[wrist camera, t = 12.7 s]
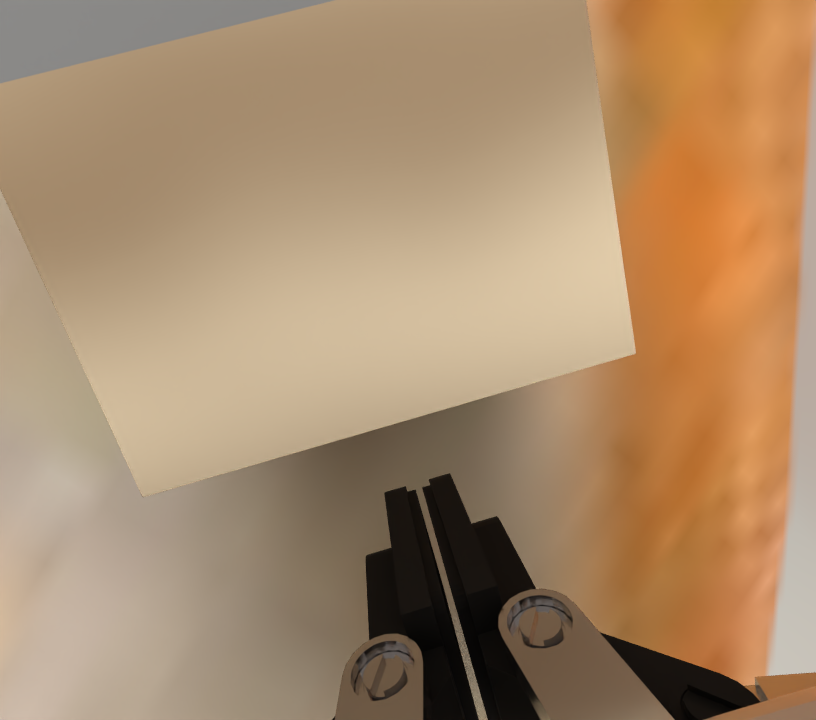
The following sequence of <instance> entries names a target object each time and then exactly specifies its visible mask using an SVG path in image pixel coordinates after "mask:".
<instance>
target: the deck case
mask: <svg viewBox="0 0 816 720" xmlns="http://www.w3.org/2000/svg"><path fill="white" fill-rule="evenodd" d="M0 189H1V192H2V194H3V196H4V198H5V200H6V202H7V205H8V207H9V209H10V211H11V213H12V215H13V218H14V220H15V222H16V224H17V226H18V228H19V231H20V233H21V235H22V237H23V239H24V241H25V244H26V246H27V248H28V250H29V252H30V254H31V257H32V259H33V261H34V263H35V265H36V267H37V270H38V272H39V274H40V276H41V278H42V280H43V283H44V285H45V287H46V289H47V291H48V293H49V296H50V298H51V300H52V302H53V304H54V306H55V309H56V311H57V313H58V315H59V317H60V319H61V322H62V324H63V326H64V328H65V330H66V332H67V335H68V337H69V339H70V341H71V343H72V345H73V348H74V350H75V352H76V354H77V356H78V358H79V361H80V363H81V365H82V367H83V369H84V371H85V374H86V376H87V378H88V380H89V382H90V384H91V387H92V389H93V391H94V393H95V395H96V397H97V400H98V402H99V404H100V406H101V408H102V410H103V413H104V415H105V417H106V419H107V421H108V423H109V426H110V428H111V430H112V432H113V434H114V436H115V439H116V441H117V443H118V445H119V447H120V449H121V452H122V454H123V456H124V458H125V460H126V462H127V465H128V467H129V469H130V471H131V473H132V475H133V478H134V480H135V482H136V484H137V486H138V488H139V491H140V493H141V495H142V497H146V496H149V495H153V494H156V493H160V492H163V491H167V490H170V489H173V488H177V487H180V486H184V485H187V484H191V483H194V482H197V481H201V480H204V479H208V478H211V477H215V476H218V475H221V474H225V473H228V472H232V471H235V470H239V469H242V468H245V467H249V466H252V465H256V464H259V463H263V462H266V461H269V460H273V459H276V458H280V457H283V456H287V455H290V454H293V453H297V452H300V451H304V450H307V449H311V448H314V447H317V446H321V445H324V444H328V443H331V442H335V441H338V440H341V439H345V438H348V437H352V436H355V435H359V434H362V433H365V432H369V431H372V430H376V429H379V428H382V427H386V426H389V425H393V424H396V423H400V422H403V421H406V420H410V419H413V418H417V417H420V416H424V415H427V414H430V413H434V412H437V411H441V410H444V409H448V408H451V407H454V406H458V405H461V404H465V403H468V402H472V401H475V400H478V399H482V398H485V397H489V396H492V395H496V394H499V393H502V392H506V391H509V390H513V389H516V388H520V387H523V386H526V385H530V384H533V383H537V382H540V381H544V380H547V379H550V378H554V377H557V376H561V375H564V374H568V373H571V372H574V371H578V370H581V369H585V368H588V367H592V366H595V365H598V364H602V363H605V362H609V361H612V360H616V359H619V358H622V357H626V356H629V355H633V354H636V351H635V344H634V337H633V330H632V323H631V315H630V308H629V301H628V294H627V287H626V280H625V273H624V266H623V259H622V252H621V245H620V238H619V230H618V223H617V216H616V209H615V202H614V195H613V188H612V181H611V174H610V167H609V160H608V152H607V145H606V138H605V131H604V124H603V117H602V110H601V103H600V96H599V89H598V82H597V74H596V67H595V60H594V53H593V46H592V39H591V32H590V25H589V18H588V11H587V4H586V0H334V1H330V2H326V3H322V4H318V5H314V6H310V7H306V8H302V9H298V10H294V11H290V12H286V13H282V14H278V15H274V16H270V17H266V18H262V19H258V20H254V21H250V22H246V23H242V24H238V25H234V26H229V27H225V28H221V29H217V30H213V31H209V32H205V33H201V34H197V35H193V36H189V37H185V38H181V39H177V40H173V41H169V42H165V43H161V44H157V45H153V46H149V47H145V48H141V49H137V50H133V51H129V52H125V53H121V54H117V55H113V56H109V57H105V58H101V59H97V60H93V61H89V62H84V63H80V64H76V65H72V66H68V67H64V68H60V69H56V70H52V71H48V72H44V73H40V74H36V75H32V76H28V77H24V78H20V79H16V80H12V81H8V82H4V83H0Z"/></svg>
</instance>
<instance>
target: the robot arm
mask: <svg viewBox="0 0 816 720" xmlns="http://www.w3.org/2000/svg"><path fill="white" fill-rule="evenodd" d="M429 482H430V485H429V486H426V487H423V492H424V496H425V499H426V503H427V506H428V510H429V513H430V517H431V520H432V524H433V528H434V531H435V535H436V538H437V542H438V545H439V549H440V553H441V556H442V560H443V563H444V567H445V570H446V574H447V578H448V581H449V585H450V588H451V592H452V595H453V599H454V602H455V606H456V609H457V613H458V616H459V620H460V623H461V627H462V630H463V634H464V637H465V641H466V644H467V648H468V651H469V655H470V658H471V662H472V665H473V669H474V672H475V676H476V679H477V683H478V686H479V690H480V693H481V697H482V700H483V704H484V707H485V711H486V714H487V718H488V720H816V673H803V674H789V675H775V676H761V677H755V685H749V686H743V685H741V684H740V683H739V682H737V681H735V680H733V679H731V678H729V677H726V676H724V675H722V674H720V673H717V672H714V671H711V670H708V669H705V668H702V667H699V666H696V665H694V664H691V663H688V662H685V661H682V660H679V659H676V658H673V657H670V656H667V655H664V654H661V653H659V652H656V651H653V650H650V649H647V648H644V647H641V646H638V645H635V644H632V643H629V642H626V641H623V640H621V639H618V638H615V637H612V636H609V635H606V634H603V633H600V632H599V631H598V630H597V629H596V628H595V626H594V625H593V624H592V623H591V622H590V621H589V619H588V618H587V617H586V616H585V615H584V614H583V612H582V611H581V610H580V609H579V608H578V607H577V605H576V604H575V603H574V602H572V601H571V600H570V599H569V598H568V597H567V596H565V595H563V594H561V593H558V592H556V591H552V590H547V589H536V588H535V586H534V584H533V582H532V580H531V578H530V576H529V574H528V573H527V571H526V569H525V567H524V565H523V563H522V561H521V559H520V557H519V556H518V554H517V552H516V550H515V548H514V546H513V544H512V542H511V540H510V538H509V537H508V535H507V533H506V531H505V529H504V527H503V525H502V523H501V521H500V520H499V518H498V517H497V516H496V517H493V518H489V519H486V520H483V521H479V522H476V523H473V524H471V522H470V520H469V517H468V515H467V512H466V510H465V508H464V505H463V503H462V501H461V498H460V496H459V493H458V491H457V489H456V486H455V484H454V482H453V479H452V477H451V475H450V473H449V474H446V475H442V476H439V477H435V478H432V479H429ZM384 494H385V502H386V509H387V517H388V524H389V532H390V539H391V547H392V548H389V549H386V550H383V551H379V552H376V553H372V554H369V555H367V556H366V579H367V600H368V621H369V641H368V642H366V643H364V644H363V645H362V646H361V647H359V648H358V649H357V650H356V651H355V652H354V653H353V655H352V656H351V658H350V659H349V661H348V662H347V664H346V666H345V669H344V672H343V675H342V680H341V686H340V692H339V698H338V703H337V709H336V715H335V717H334V718H333V720H478V716H477V712H476V708H475V704H474V701H473V697H472V693H471V689H470V686H469V682H468V678H467V674H466V671H465V667H464V663H463V659H462V656H461V652H460V648H459V644H458V640H457V637H456V633H455V629H454V625H453V622H452V618H451V614H450V610H449V607H448V603H447V599H446V595H445V592H444V588H443V584H442V581H441V577H440V574H439V570H438V567H437V563H436V560H435V556H434V553H433V549H432V546H431V542H430V539H429V535H428V532H427V528H426V525H425V521H424V518H423V514H422V511H421V507H420V504H419V500H418V496H417V493H416V490H412V491H409V492H407V489H406V486H405V487H401V488H398V489H395V490H391V491H388V492H385V493H384Z"/></svg>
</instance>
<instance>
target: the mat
mask: <svg viewBox="0 0 816 720" xmlns="http://www.w3.org/2000/svg"><path fill="white" fill-rule="evenodd" d="M330 1H334V0H0V83H4V82H8V81H12V80H16V79H20V78H24V77H28V76H32V75H36V74H40V73H44V72H48V71H52V70H56V69H60V68H64V67H68V66H72V65H76V64H80V63H84V62H89V61H93V60H97V59H101V58H105V57H109V56H113V55H117V54H121V53H125V52H129V51H133V50H137V49H141V48H145V47H149V46H153V45H157V44H161V43H165V42H169V41H173V40H177V39H181V38H185V37H189V36H193V35H197V34H201V33H205V32H209V31H213V30H217V29H221V28H225V27H229V26H234V25H238V24H242V23H246V22H250V21H254V20H258V19H262V18H266V17H270V16H274V15H278V14H282V13H286V12H290V11H294V10H298V9H302V8H306V7H310V6H314V5H318V4H322V3H326V2H330Z"/></svg>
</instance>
